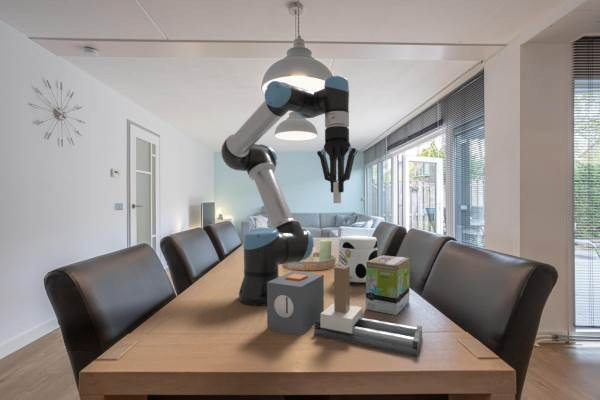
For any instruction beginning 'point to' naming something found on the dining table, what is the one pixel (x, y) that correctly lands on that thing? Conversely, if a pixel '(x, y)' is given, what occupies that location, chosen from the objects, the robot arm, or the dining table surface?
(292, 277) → the orange cube
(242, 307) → the dining table surface
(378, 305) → the tea box
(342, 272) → the carriage
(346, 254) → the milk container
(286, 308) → the gauge cabinet
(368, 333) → the rail track
